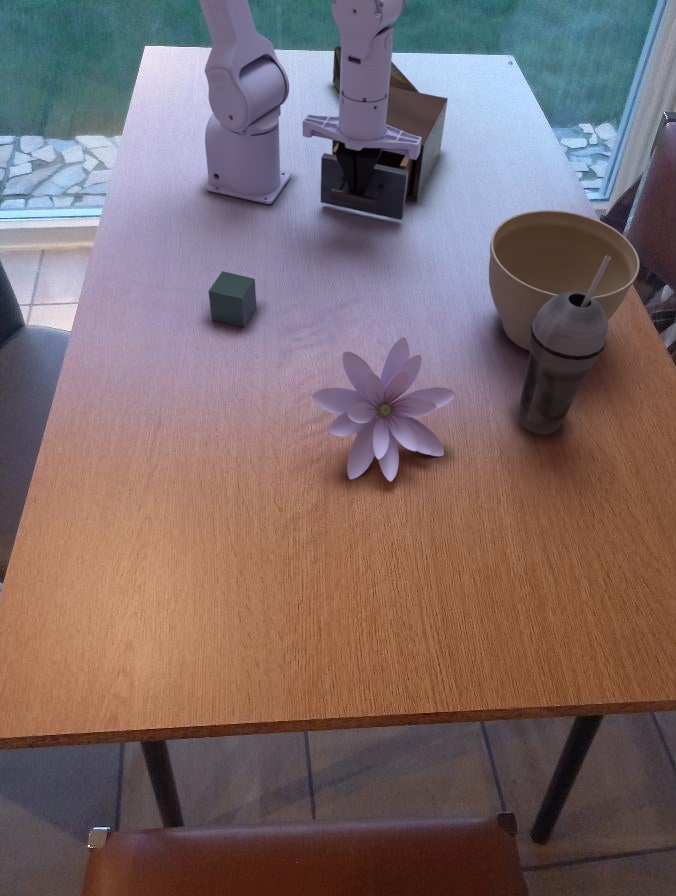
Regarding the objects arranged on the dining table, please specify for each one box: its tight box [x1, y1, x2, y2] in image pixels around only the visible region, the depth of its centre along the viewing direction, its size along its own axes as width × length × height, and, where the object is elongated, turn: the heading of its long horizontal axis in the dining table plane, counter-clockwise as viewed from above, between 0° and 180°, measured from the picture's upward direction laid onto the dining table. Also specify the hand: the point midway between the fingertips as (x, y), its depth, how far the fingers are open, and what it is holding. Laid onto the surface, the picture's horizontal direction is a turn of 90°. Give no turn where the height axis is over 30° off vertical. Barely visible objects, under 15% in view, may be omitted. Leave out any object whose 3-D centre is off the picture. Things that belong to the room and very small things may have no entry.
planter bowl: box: [488, 209, 640, 352], centre depth 88 cm, size 16×16×11 cm
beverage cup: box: [518, 256, 610, 435], centre depth 75 cm, size 7×7×20 cm
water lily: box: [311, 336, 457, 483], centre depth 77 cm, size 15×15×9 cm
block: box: [208, 270, 257, 328], centre depth 89 cm, size 4×4×4 cm
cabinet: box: [331, 87, 448, 203], centre depth 110 cm, size 15×13×8 cm
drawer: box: [320, 143, 416, 221], centre depth 104 cm, size 18×11×6 cm, turn 164°
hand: (357, 199), depth 101 cm, fingers closed, pressing on drawer
